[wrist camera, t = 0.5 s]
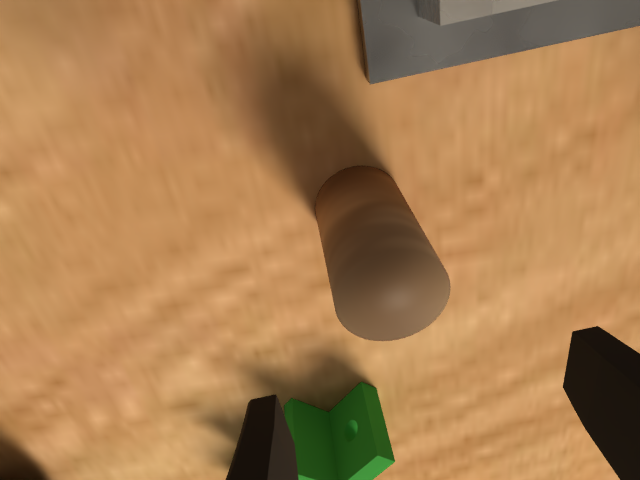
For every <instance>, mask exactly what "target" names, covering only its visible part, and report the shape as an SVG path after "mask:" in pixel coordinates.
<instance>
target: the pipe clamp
mask: <svg viewBox="0 0 640 480" xmlns="http://www.w3.org/2000/svg"><path fill="white" fill-rule="evenodd" d="M284 413H285V419H286V422H287V424H288V427H289V430H290V432H291V435H292V438H293V440H294V443H295V451H296V460H297V469H298V479H299V480H373V479H374V478H375V477H377V476H378V475H379V474H380V473H382V472H383V471H384V470H385V469H387V468H388V467H389V466H390V465H392V464H393V463H394V462H395V459H394V455H393V451H392V448H391V444H390V440H389V436H388V432H387V428H386V424H385V420H384V416H383V412H382V409H381V405H380V401H379V397H378V393H377V389H376V388H375V387H372V386H370V385H368V384H365V383H363V382H360V383H359V384H358V385H357V386H356V387H355V388H354V389H353V390H352V391H351V392H350V393H349V394H348V395H346V396H345V397H344V398H343V399H342V400H341V401H340V402H339V403H338V404H337V405H336V406H335V407H334V408H333V409H332V410H331V411H330V412H327V411H324V410H322V409H319V408H317V407H314V406H311V405H309V404H306V403H304V402H301V401H298V400H296V399H293V398H291V399H290V400H289V401H288V402H287V403H286V404H285V405H284Z"/></svg>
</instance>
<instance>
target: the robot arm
mask: <svg viewBox="0 0 640 480" xmlns="http://www.w3.org/2000/svg"><path fill="white" fill-rule="evenodd" d="M563 388H564V390H565V392H566V394H567V396H568V398H569V400H570V402H571V404H572V406H573V407H574V409H575V411H576V413H577V415H578V417H579V418H580V420H581V422H582V424H583V426H584V427H585V429H586V430H587V432H588V433H589V435H590V436H591V438H592V439H593V441H594V442H595V444H596V445H597V447H598V448H599V450H600V451H601V452H602V454H603V455H604V457H605V458H606V460H607V461H608V463H609V464H610V465H611V467H612V468H613V470H614V471H615V473H616V474H617V475H618V477H619V478H620V480H640V354H639V353H638V352H636V351H635V350H633V349H632V348H630V347H629V346H627V345H626V344H624V343H623V342H621V341H620V340H618V339H617V338H615V337H614V336H612V335H611V334H609V333H608V332H606V331H605V330H603V329H601V328H600V327H598V326H596V327H592V328H587V329H582V330H577V331H573V332H572V337H571V343H570V349H569V355H568V360H567V366H566V372H565V378H564V383H563ZM226 480H299V479H298V469H297V460H296V451H295V443H294V440H293V438H292V435H291V432H290V430H289V427H288V424H287V422H286V419H285V416H284V414H283V411H282V408H281V406H280V403H279V400H278V398H277V395H271V396H266V397H261V398H257V399H252V400H251V401H250V402H249V403H248V406H247V411H246V415H245V419H244V423H243V427H242V430H241V434H240V437H239V441H238V444H237V447H236V450H235V454H234V457H233V460H232V463H231V466H230V469H229V472H228V475H227V478H226Z"/></svg>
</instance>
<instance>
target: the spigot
mask: <svg viewBox="0 0 640 480" xmlns="http://www.w3.org/2000/svg"><path fill="white" fill-rule="evenodd" d="M315 212H316V218H317V222H318V227H319V232H320V237H321V242H322V247H323V252H324V257H325V262H326V267H327V272H328V277H329V282H330V286H331V291H332V296H333V301H334V306H335V311H336V314H337V317H338V319H339V321H340V322H341V324H342V325H343V326H344V327H345V328H346V329H347V330H348V331H350V332H351V333H353V334H355V335H356V336H359V337H361V338H364V339H368V340H374V341H392V340H398V339H402V338H405V337H408V336H411V335H413V334H415V333H417V332H419V331H421V330H423V329H424V328H426V327H427V326H429V325H430V324H431V323H432V322H433V321H434V320H436V318H437V317H438V316H439V315H440V314H441V312H442V311H443V310H444V308H445V306H446V304H447V302H448V299H449V295H450V280H449V276H448V274H447V272H446V270H445V268H444V266H443V265H442V263H441V261H440V259H439V258H438V256H437V254H436V252H435V251H434V249H433V247H432V245H431V244H430V242H429V240H428V239H427V237H426V235H425V233H424V232H423V230H422V228H421V226H420V225H419V223H418V221H417V219H416V218H415V216H414V214H413V212H412V211H411V209H410V207H409V205H408V204H407V202H406V200H405V199H404V197H403V195H402V193H401V192H400V190H399V188H398V186H397V185H396V183H395V182H394V180H393V179H392V178H391V177H390V176H389V175H388V174H387V173H385V172H384V171H382V170H380V169H377V168H374V167H370V166H355V167H350V168H347V169H344V170H342V171H340V172H338V173H336V174H335V175H333V176H332V177H331V178H329V179H328V180H327V181H326V182H325V184H324V185H323V186H322V188H321V189H320V191H319V193H318V196H317V199H316V204H315Z"/></svg>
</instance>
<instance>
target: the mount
mask: <svg viewBox="0 0 640 480" xmlns="http://www.w3.org/2000/svg"><path fill="white" fill-rule="evenodd" d="M357 4H358V12H359V20H360V28H361V36H362V45H363V53H364V61H365V69H366V77H367V81H368V82H369V83H370V84H374V83H379V82H383V81H388V80H392V79H397V78H402V77H406V76H411V75H415V74H420V73H425V72H429V71H434V70H438V69H443V68H448V67H452V66H457V65H461V64H466V63H471V62H475V61H480V60H484V59H489V58H494V57H498V56H503V55H507V54H512V53H516V52H521V51H526V50H530V49H535V48H539V47H544V46H549V45H553V44H558V43H562V42H567V41H572V40H576V39H581V38H585V37H590V36H595V35H599V34H604V33H608V32H613V31H618V30H622V29H627V28H631V27H636V26H640V0H357Z"/></svg>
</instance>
